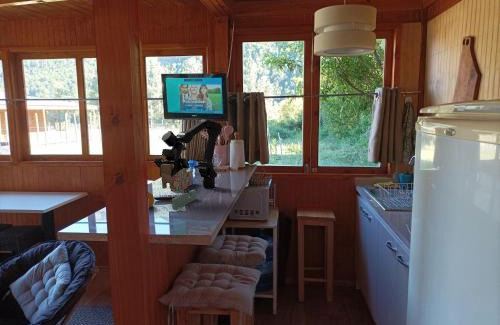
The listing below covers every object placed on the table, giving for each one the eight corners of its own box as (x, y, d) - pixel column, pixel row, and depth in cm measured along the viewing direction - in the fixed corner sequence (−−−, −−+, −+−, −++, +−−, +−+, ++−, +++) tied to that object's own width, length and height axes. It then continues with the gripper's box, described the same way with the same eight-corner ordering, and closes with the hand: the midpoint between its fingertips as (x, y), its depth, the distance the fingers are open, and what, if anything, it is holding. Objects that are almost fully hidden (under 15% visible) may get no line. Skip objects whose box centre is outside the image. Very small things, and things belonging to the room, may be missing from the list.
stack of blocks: (184, 183, 235) (182, 164, 233) (193, 183, 234) (192, 164, 232) (170, 191, 214) (168, 170, 212) (180, 191, 213) (179, 170, 211)
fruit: (146, 212, 173) (144, 191, 171) (124, 211, 176) (122, 190, 175) (159, 205, 184) (157, 185, 182) (138, 204, 187) (137, 185, 186)
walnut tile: (164, 187, 194) (162, 164, 192) (174, 188, 191) (172, 164, 190) (162, 188, 192) (160, 164, 190) (172, 189, 190) (170, 165, 188)
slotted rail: (193, 198, 194) (193, 189, 193) (196, 199, 193) (195, 189, 192) (172, 209, 175) (171, 198, 175) (175, 209, 175) (174, 199, 174)
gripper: (154, 142, 195) (142, 166, 187) (184, 142, 188) (174, 167, 180) (163, 155, 204) (153, 179, 195) (193, 155, 197) (184, 180, 188)
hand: (165, 176), depth 189 cm, fingers closed on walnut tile, 6 cm apart
